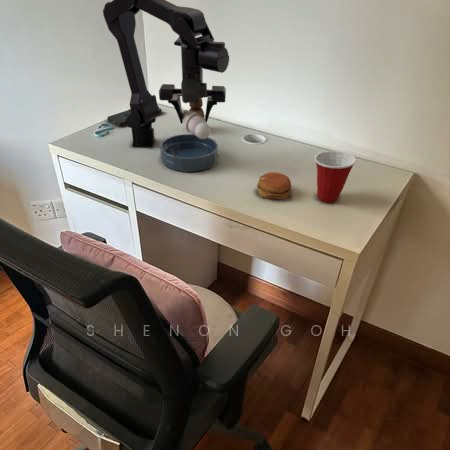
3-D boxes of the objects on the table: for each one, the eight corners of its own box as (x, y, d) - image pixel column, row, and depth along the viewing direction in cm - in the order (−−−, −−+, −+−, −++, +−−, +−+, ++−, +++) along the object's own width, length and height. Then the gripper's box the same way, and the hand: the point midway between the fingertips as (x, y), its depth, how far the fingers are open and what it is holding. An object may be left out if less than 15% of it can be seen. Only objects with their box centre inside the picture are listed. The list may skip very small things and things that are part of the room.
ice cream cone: (178, 121, 130) (205, 147, 124) (166, 111, 125) (194, 139, 119) (190, 104, 129) (219, 131, 123) (179, 94, 123) (208, 121, 117)
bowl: (157, 171, 127) (156, 157, 123) (165, 146, 139) (164, 133, 136) (216, 173, 127) (216, 159, 124) (218, 148, 140) (218, 135, 136)
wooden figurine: (203, 133, 148) (203, 88, 138) (187, 133, 148) (186, 87, 138) (204, 126, 153) (204, 82, 143) (189, 125, 153) (187, 81, 142)
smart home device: (106, 116, 153) (148, 103, 164) (106, 121, 154) (148, 107, 165) (120, 122, 149) (162, 108, 160) (120, 127, 150) (162, 113, 161)
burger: (295, 198, 117) (298, 182, 114) (265, 203, 115) (266, 187, 112) (281, 181, 124) (282, 167, 121) (252, 186, 122) (253, 171, 119)
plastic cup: (319, 184, 124) (327, 144, 115) (352, 197, 119) (363, 156, 110) (300, 198, 117) (307, 157, 109) (334, 212, 113) (344, 170, 104)
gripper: (153, 73, 108) (158, 133, 119) (225, 75, 108) (224, 135, 119) (159, 61, 116) (163, 118, 127) (226, 63, 116) (225, 120, 127)
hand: (193, 123), depth 125 cm, fingers closed on ice cream cone, 7 cm apart
